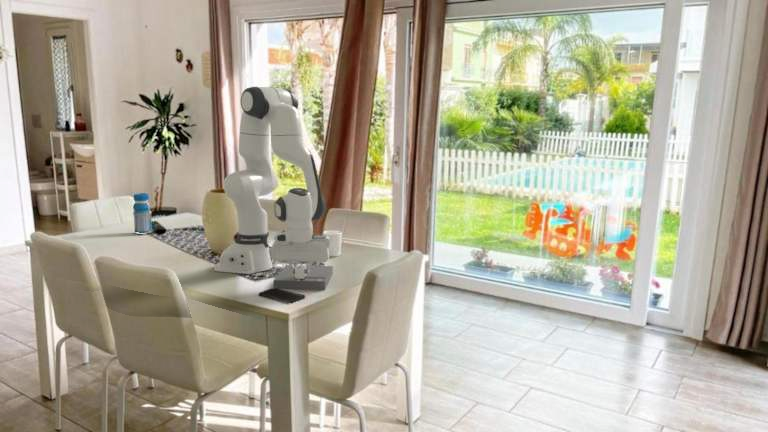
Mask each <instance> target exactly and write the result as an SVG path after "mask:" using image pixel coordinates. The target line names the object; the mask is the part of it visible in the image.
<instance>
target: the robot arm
mask: <svg viewBox="0 0 768 432" xmlns="http://www.w3.org/2000/svg"><path fill="white" fill-rule="evenodd" d="M240 107H241V109H242V113H241V119H240V123H239V124H240V125H239V134H238V135H239V136H238V153H239V155H240V156H241V157H242V158H243V159H244V162H245V166H246V168H245V169H243V170H236V171H234V172H231V173H230V174H228V175H227V176H226V177H225V178H224V180H223V183H222V187H223V191H224V193H225V195H226V196H227V198H229V199H230V200H231V201H232V202H233V204H234V207H235V209H236V212H237V213H236V214H237V222H238V223H237V225H238V231H237V232H235V234H234V235H233V237H232V238H233V241H234V242H233V243H231V244H230V246H228V247H226V248H225V249H224V250H223V251H222V252H221V254H220V256H219V262H217V263H216V264H215V265H214V267H213V271H215V272H218V273H219V272H221V273H233V274H247V275H249V274H250V275H251V274H255V273H259V272H263V271H264V272H265V271H269V270H271V269H272V268H273V266H274V265H273V263H272V261H275V262H288V265H290V267H291V268H292V273H295V267H294V265H295V264H294V262H303V263H304V262H307V266H308V268H305V269H304V271H305V274H309V268H310V266H313V263H327V262H328V261H329V259H330V257H329V248H328V247H329V246H330V240H329V238H328V237H325V236H324V234H323V235H319V234H317V235H315V234H314V232H313V231H314V227H313V223H312V221H314V222H318V221H319V220H320V219H321V218H322V217H323V216H324V215H325V213H326V210H327V208H326V202H325V200H324V196H323V194H322V189H321V184H320V181H319V176H318V171H317V166H316V163H315V159H314V155H313V153H312V151H311V150H310V149H307V147H306V146H305V143H304V140H303V130H302V122H301V118H300V113H299V110H298V109H299V97H298V95H297V94H296V92H294V91H293V90H291V89H289V88H281V87H275V86H259V87H258V86H250V87H247V88H245V89H244V90H243V92H242V93H241V95H240ZM270 143H271V144H270ZM270 145H271V149H272V152H273V153H274V154H275V156H276V157H278V159H281V160H282V161H284V162H287V163H289V164H293V165H295V166H296V167H299V168H300V170H301V171H302V174H303V178H304V180H305V181H304V182H305V186H306V188H302V187H295V188H294V187H293V188H291V189H289V190H288V191H287V194H285V195H282V196H279V197H278V198H277V199H276V201H275V202H274V215H275V217H276V218H277V219H278V220H279V221H280V222H283V223H287V226H286V228H287V229H285V230H281V231H279V232H277V233H275V235H274V237H273V240H274V242H273V243H272V245H271V251H270V248H269V247H270V233H269V231H268V229H269V228H268V213H267V210H265V209H264V208H262V206H261V204H260V201H259V200H260V199H259V197H264V196H268V195H269V194H271V193H272V192H274V191H275V190H277V188H278V186H279V178H278V174H277V173H276V172H275V171H274V169H273V168H272V165H271V162H270V161H271V160H270V154H269V153H270V152H269V150H270V149H269V148H270ZM325 238H327V239H325Z"/></svg>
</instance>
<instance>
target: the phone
mask: <svg viewBox="0 0 768 432" xmlns="http://www.w3.org/2000/svg"><path fill="white" fill-rule="evenodd" d="M258 296H259V297H262V298H265V299H270V300H273V301H277V302H280V301H281V303H284V302H285V303H284V304H288V303H291V304H294V303H296V301H297V302H300V301H301V300H305V298H306V295H304V294H301V293H296V292H292V291H289V290H286V289H276V288H274V287H273V288H269V289H266V290H263V291H260V292H258ZM293 302H294V303H293Z"/></svg>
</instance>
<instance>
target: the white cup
mask: <svg viewBox="0 0 768 432" xmlns="http://www.w3.org/2000/svg"><path fill="white" fill-rule="evenodd" d="M322 233H323V236H325V237H328V238H329V240H330V246H329V247H328V248H329V258H330V257H331V258H332V257H339V256H341V255H342V254H341V252H342V238H343V237H342V236H343V232H342V231H340V230H325V231H323V232H322ZM325 239H327V238H325Z"/></svg>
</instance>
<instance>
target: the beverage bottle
mask: <svg viewBox="0 0 768 432" xmlns="http://www.w3.org/2000/svg"><path fill="white" fill-rule="evenodd" d="M149 197H150V196H149V194H148V193H143V192H141V193H140V192H139V193H134V194H133V201H134V204H133V207H132V210H133V212H132V215H133V222H134V223H133V224H134V233H135V232H139V233H145V232H149V231H151V230H152V231H153V226H152V209H151V208H152V207H151V204H150V203H149V202H148V201H149V200H150V199H149Z"/></svg>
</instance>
